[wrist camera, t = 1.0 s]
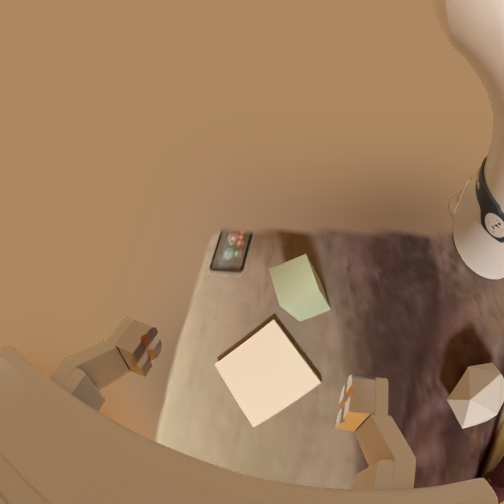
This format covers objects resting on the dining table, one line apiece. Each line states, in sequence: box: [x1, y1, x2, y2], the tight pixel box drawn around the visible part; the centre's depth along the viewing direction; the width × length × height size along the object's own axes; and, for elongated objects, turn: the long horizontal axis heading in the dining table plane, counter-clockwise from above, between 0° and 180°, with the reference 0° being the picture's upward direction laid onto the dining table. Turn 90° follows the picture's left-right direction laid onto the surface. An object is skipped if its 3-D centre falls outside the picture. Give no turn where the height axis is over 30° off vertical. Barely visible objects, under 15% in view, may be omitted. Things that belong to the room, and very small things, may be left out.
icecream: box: [483, 456, 504, 504], centre depth 13 cm, size 7×8×15 cm
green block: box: [269, 254, 331, 321], centre depth 37 cm, size 5×5×10 cm
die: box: [447, 363, 504, 429], centre depth 22 cm, size 8×9×10 cm
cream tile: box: [215, 319, 322, 427], centre depth 39 cm, size 12×12×1 cm
